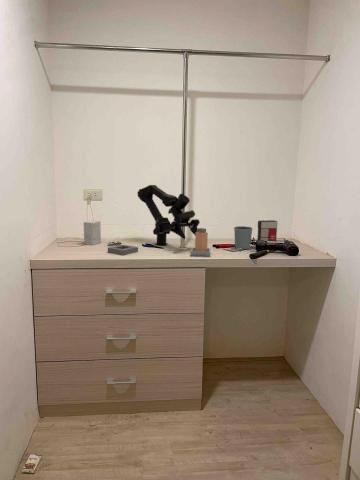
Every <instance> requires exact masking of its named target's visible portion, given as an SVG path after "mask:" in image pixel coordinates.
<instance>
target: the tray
mask: <svg viewBox="0 0 360 480" xmlns="http://www.w3.org/2000/svg"><path fill="white" fill-rule="evenodd" d="M211 249H212V248H210V247H209V248H208V247H207V252H199V251H195V247H191V249H190V257H200V258H201V257H203V258H211Z"/></svg>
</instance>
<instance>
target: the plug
mask: <svg viewBox="0 0 360 480" xmlns="http://www.w3.org/2000/svg"><path fill="white" fill-rule="evenodd" d="M208 235H209V234H208V232H207V228H203V227H197V232H195V235H194V236H195V240H194V248H195V251H199V252H207V248H208V237H209V236H208Z"/></svg>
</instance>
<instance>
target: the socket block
mask: <svg viewBox="0 0 360 480" xmlns="http://www.w3.org/2000/svg"><path fill="white" fill-rule="evenodd" d="M107 253H109V254H112V255H113V254H114V255H118V256H128V255H130V254H136V253H139V247H138V246H133V245H128V244H117V245H115V246H114V245H113V246H108V247H107Z"/></svg>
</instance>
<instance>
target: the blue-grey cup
mask: <svg viewBox="0 0 360 480" xmlns="http://www.w3.org/2000/svg"><path fill="white" fill-rule="evenodd" d="M233 231H234V248H235V247H236V248H242V249H248V250H250V249H251V243H252V234H253V227H251V226H243V225H240V226H239V225H238V226H235V227H234V228H233ZM236 248H235V249H236Z"/></svg>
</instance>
